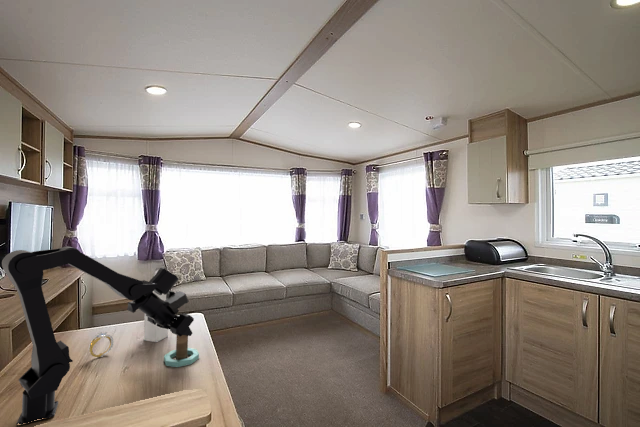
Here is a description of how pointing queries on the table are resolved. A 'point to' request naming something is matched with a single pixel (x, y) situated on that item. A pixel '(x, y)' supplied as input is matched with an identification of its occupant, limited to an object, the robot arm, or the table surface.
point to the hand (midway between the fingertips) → (186, 332)
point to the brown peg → (181, 347)
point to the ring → (99, 336)
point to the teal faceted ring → (182, 362)
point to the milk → (154, 327)
